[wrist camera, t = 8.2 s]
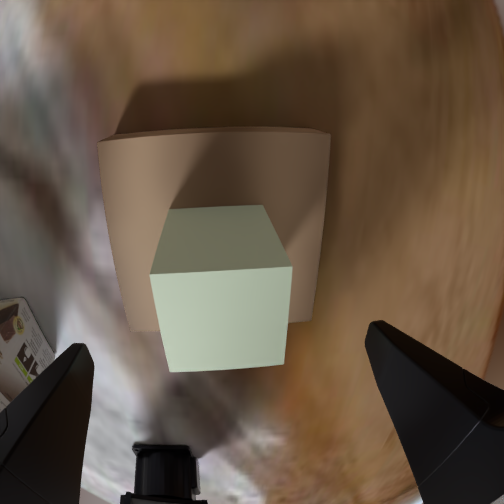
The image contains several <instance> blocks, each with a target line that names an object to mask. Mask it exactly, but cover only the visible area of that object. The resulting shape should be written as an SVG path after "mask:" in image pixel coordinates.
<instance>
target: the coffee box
mask: <svg viewBox="0 0 504 504" xmlns="http://www.w3.org/2000/svg"><path fill="white" fill-rule="evenodd" d="M54 359H55V355H54V353H53V351H52V349H51V348H50V346H49V344H48V342H47V341H46V339H45V337H44V335H43V333H42V331H41V330H40V328H39V326H38V324H37V322H36V320H35V318H34V316H33V314H32V312H31V310H30V308H29V306H28V304H27V302H26V300H25V299H24V298H13V299H6V300H0V412H1V411H2V410H3V409H4V408H6V406H7V405H8V404H9V403H10V402H11V401H12V400H13V399H14V398H15V397H16V396H17V395H18V394H19V393H20V392H22V391H23V390H24V389H25V388H26V387H27V386H28V385H29V384H30V383H31V382H32V381H33V380H34V379H35V378H36V377H37V376H38V375H39V374H40V373H41V372H42V371H44V370H45V369H46V368H47V367H48V366H49V365H50V364H51V363H52V362H53V361H54Z"/></svg>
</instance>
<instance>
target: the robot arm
mask: <svg viewBox="0 0 504 504" xmlns="http://www.w3.org/2000/svg"><path fill="white" fill-rule="evenodd" d="M365 348H366V351H367V354H368V357H369V361H370V364H371V367H372V370H373V374H374V377H375V380H376V383H377V386H378V388H379V391H380V393H381V395H382V398H383V400H384V403H385V405H386V407H387V410H388V412H389V414H390V417H391V419H392V422H393V424H394V427H395V429H396V431H397V434H398V436H399V439H400V441H401V444H402V446H403V449H404V452H405V454H406V457H407V459H408V462H409V464H410V467H411V470H412V472H413V475H414V478H415V480H416V483H417V486H419V487H418V489H419V492H420V495H421V497H422V500H423V503H424V504H504V390H502V389H500V388H498V387H496V386H494V385H492V384H490V383H488V382H486V381H484V380H482V379H481V378H479V377H477V376H475V375H474V374H472V373H470V372H469V371H467V370H465V369H462V367H460V366H459V365H457V364H455V363H454V362H452V361H450V360H449V359H447V358H445V357H444V356H442V355H440V354H439V353H437V352H435V351H434V350H432V349H430V348H429V347H427V346H425V345H424V344H422V343H420V342H419V341H417V340H415V339H414V338H412V337H410V336H408V335H407V334H405V333H403V332H402V331H400V330H398V329H397V328H395V327H393V326H392V325H390V324H388V323H387V322H385V321H383V320H378V321H373V322H371V323H370V324H369V327H368V331H367V335H366V338H365ZM93 377H94V362H93V359H92V357H91V355H90V353H89V350H88V348H87V346H86V345H85V344H84V343H73V344H72V345H71V346H69V347H68V348H67V349H66V350H65V351H64V352H63V353H62V354H61V355H60V356H59V357H58V358H56V359H55V360H54V361H53V362H52V363H51V364H50V365H49V366H48V367H47V368H46V369H45V370H44V371H42V372H41V373H40V374H39V375H38V376H37V377H36V378H35V379H34V380H33V381H32V382H31V383H30V384H29V385H28V386H27V387H26V388H25V389H24V390H23V391H22V392H20V393H19V394H18V395H17V396H16V397H15V398H14V399H13V400H12V401H11V402H10V403H9V404H8V405H7V406H6V408H4V409H3V410H2V411H1V412H0V504H79V497H80V486H81V476H82V467H83V459H84V451H85V444H86V437H87V430H88V424H89V418H90V412H91V403H92V389H93ZM132 450H133V452H134V453H135V455H136V471H135V487H134V493H131V492H126V495H121V498H120V504H208V503H207V500H196V495H199V494H200V477H199V465H198V462H197V459H196V458H195V457H193V456H192V453H191V450H190V448H189V447H188V446H141V445H134V446H132Z"/></svg>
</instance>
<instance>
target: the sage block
mask: <svg viewBox="0 0 504 504" xmlns="http://www.w3.org/2000/svg"><path fill="white" fill-rule="evenodd" d="M292 268H293V266H292V264H291V262H290V260H289V258H288V256H287V254H286V252H285V249H284V247H283V245H282V243H281V241H280V239H279V237H278V235H277V233H276V231H275V229H274V227H273V225H272V223H271V221H270V219H269V217H268V215H267V213H266V211H265V209H264V206H263V205H243V206H220V207H200V208H182V209H169V211H168V214H167V217H166V220H165V223H164V226H163V230H162V233H161V236H160V239H159V243H158V246H157V250H156V253H155V256H154V260H153V263H152V267H151V271H150V274H149V275H150V281H151V286H152V292H153V297H154V302H155V307H156V312H157V317H158V322H159V327H160V331H161V336H162V340H163V345H164V349H165V354H166V358H167V362H168V366H169V370H170V372H191V371H212V370H228V369H241V368H253V367H264V366H273V365H282V364H284V357H285V347H286V337H287V326H288V316H289V305H290V293H291V281H292Z"/></svg>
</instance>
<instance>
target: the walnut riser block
mask: <svg viewBox="0 0 504 504" xmlns="http://www.w3.org/2000/svg"><path fill="white" fill-rule="evenodd" d="M330 143H331V134H328V133H325V132H322V131H319V130H316V129H313V128H296V127H205V128H185V129H169V130H156V131H145V132H135V133H126V134H117V135H113V136H110V137H108V138H106V139H103V140H101V141H99V142H97V148H98V159H99V169H100V178H101V186H102V194H103V201H104V208H105V215H106V221H107V227H108V233H109V239H110V244H111V250H112V255H113V260H114V265H115V270H116V274H117V279H118V283H119V288H120V292H121V296H122V301H123V305H124V309H125V313H126V317H127V321H128V324H129V328H130V332H139V331H160V327H159V322H158V317H157V312H156V307H155V302H154V297H153V292H152V286H151V281H150V275H149V274H150V271H151V267H152V263H153V260H154V256H155V253H156V250H157V246H158V243H159V239H160V236H161V233H162V230H163V226H164V223H165V220H166V217H167V214H168V211H169V209H182V208H200V207H220V206H243V205H263V206H264V209H265V211H266V213H267V215H268V217H269V219H270V221H271V223H272V225H273V227H274V229H275V231H276V233H277V235H278V237H279V239H280V241H281V243H282V245H283V247H284V249H285V252H286V254H287V256H288V258H289V260H290V262H291V264H292V266H293V268H292V281H291V293H290V305H289V316H288V323H293V322H303V321H311V319H312V312H313V305H314V298H315V291H316V284H317V276H318V269H319V261H320V252H321V244H322V235H323V225H324V216H325V206H326V195H327V183H328V171H329V158H330Z"/></svg>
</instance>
